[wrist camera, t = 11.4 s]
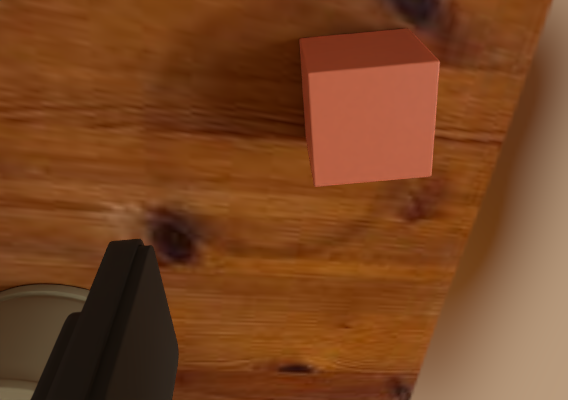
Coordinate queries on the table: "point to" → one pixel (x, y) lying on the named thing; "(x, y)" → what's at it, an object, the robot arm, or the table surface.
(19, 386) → the can
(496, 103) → the table surface
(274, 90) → the table surface
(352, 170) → the block
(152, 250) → the robot arm
